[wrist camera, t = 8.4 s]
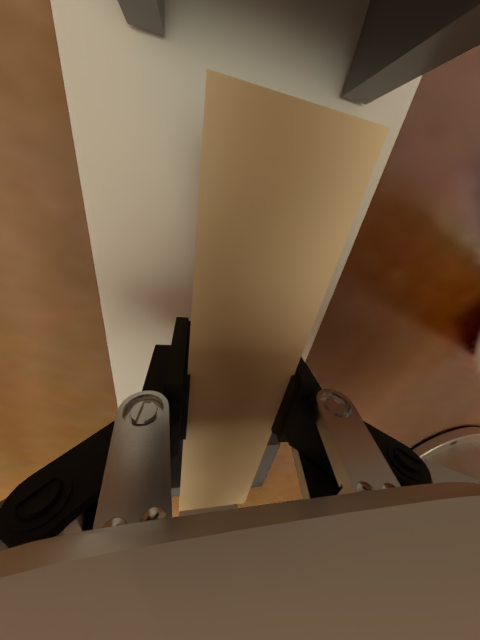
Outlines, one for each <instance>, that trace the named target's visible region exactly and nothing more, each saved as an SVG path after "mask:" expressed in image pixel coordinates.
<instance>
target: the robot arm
mask: <svg viewBox="0 0 480 640" xmlns="http://www.w3.org/2000/svg"><path fill="white" fill-rule="evenodd" d="M190 326H191V321H189V318H188V317H176V322H175V327H174V332H173V338H172V343H171V345H157V344H156V345H155V348H154V351H153V354H152V358H151V361H150V365H149V368H148V372H147V375H146V378H145V382H144V385H143V389H142V391H141V392H137V393H135V394H133V395H130V396H129V397H128V398H126V399H125V400H124V401H123V402H122V403H121V405H120V406H119V408H118V410H117V413H116V418H115V421H113V422H112V423H110V424H109V425H107V426H106V427H104V428H103V429H101V430H100V431H98V432H97V433H95V434H94V435H92V436H91V437H89V438H87V439H86V440H84V441H83V442H81V443H80V444H78V445H77V446H75V447H74V448H72V449H71V450H69V451H68V452H66V453H65V454H63V455H62V456H60V457H59V458H57V459H56V460H54V461H52V462H51V463H49V464H48V465H46V466H45V467H43V468H42V469H40V470H39V471H37V472H36V473H34V474H33V475H31V476H30V477H28V478H27V479H26V480H25V481H23V482H22V483H21V484H19V485H18V486H17V487H16V488H15V489H14V490H13V492H12V493H11V494H10V495H9V496H8V497H7V498H6V499H4V500H2V501H0V640H480V428H479V427H465V428H460V429H456V430H452V431H449V432H446V433H443V434H441V435H438V436H436V437H434V438H432V439H430V440H428V441H426V442H424V443H422V444H421V445H419V446H418V447H416V448H414V449H413V450H411V449H410V448H408V447H407V446H406V445H404V444H402V443H400V442H399V441H397V440H395V439H393V438H392V437H390V436H388V435H387V434H385V433H383V432H381V431H380V430H378V429H376V428H375V427H373V426H371V425H369V424H368V423H366V422H364V421H363V420H362V418H361V417H360V415H359V413H358V412H357V410H356V408H355V406H354V405H353V404H352V402H351V401H350V400H349V399H348V398H347V397H346V396H344V395H343V394H341V393H340V392H337V391H335V390H331V389H321V387H320V386H319V384H318V382H317V381H316V379H315V377H314V376H313V374H312V373H311V371H310V369H309V368H308V366H307V364H306V363H305V361H304V360H303V358H302V356H301V358H300V361H299V363H298V366H297V369H296V371H295V374H294V375H291V378H290V380H289V383H288V386H287V388H286V391H285V394H284V396H283V399H282V401H281V404H280V407H279V409H278V412H277V415H276V417H275V420H274V423H273V425H272V428H271V431H272V433H273V434H276V436H277V439H278V442H288V443H289V445H290V446H292V453H293V457H294V462H295V466H296V470H297V475H298V479H299V483H300V488H301V492H302V496H303V500H296V501H288V502H281V503H274V504H266V505H259V506H251V507H244V508H237V509H230V510H223V511H215V512H208V513H201V514H194V515H187V516H180V517H173V518H172V502H171V464H170V461H171V460H172V459H173V458H174V457H175V456H176V455H177V454H178V453H179V449H180V440H186V432H187V419H188V405H189V392H190V375H191V374H187V373H188V357H189V341H190Z"/></svg>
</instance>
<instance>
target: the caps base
mask: <svg viewBox="0 0 480 640" xmlns="http://www.w3.org/2000/svg"><path fill="white" fill-rule="evenodd" d="M50 1H51V7H52V13H53V19H54V25H55V31H56V37H57V43H58V49H59V55H60V61H61V67H62V73H63V79H64V85H65V91H66V97H67V103H68V109H69V115H70V121H71V127H72V133H73V139H74V145H75V151H76V157H77V163H78V169H79V175H80V181H81V187H82V193H83V199H84V206H85V212H86V218H87V224H88V230H89V236H90V242H91V248H92V254H93V260H94V266H95V272H96V278H97V284H98V290H99V296H100V302H101V308H102V314H103V320H104V326H105V332H106V338H107V344H108V350H109V356H110V362H111V368H112V374H113V380H114V386H115V392H116V398H117V404H118V408H119V406H120V405H121V403H122V402H123V401H124V400H125V399H126V398H128V397H129V396H130V395H133V394H135V393H137V392H141V391H142V389H143V385H144V382H145V378H146V375H147V372H148V368H149V365H150V361H151V358H152V354H153V351H154V348H155V345H156V344H157V345H171V343H172V338H173V332H174V327H175V322H176V317H188V318H189V321H191V310H192V294H193V278H194V262H195V247H196V231H197V215H198V199H199V183H200V168H201V152H202V136H203V120H204V105H205V89H206V73H207V69H209V70H212V71H215V72H218V73H222V74H225V75H228V76H231V77H234V78H237V79H240V80H243V81H247V82H250V83H253V84H256V85H259V86H262V87H265V88H268V89H272V90H275V91H278V92H281V93H284V94H287V95H290V96H293V97H296V98H300V99H303V100H306V101H309V102H312V103H315V104H318V105H321V106H325V107H328V108H331V109H334V110H337V111H340V112H343V113H346V114H349V115H353V116H356V117H359V118H362V119H365V120H368V121H371V122H374V123H378V124H381V125H384V126H387V127H390V128H389V131H388V134H387V136H386V139H385V141H384V144H383V147H382V149H381V152H380V154H379V157H378V159H377V162H376V165H375V167H374V170H373V172H372V175H371V178H370V180H369V183H368V185H367V188H366V190H365V193H364V196H363V198H362V201H361V203H360V206H359V209H358V211H357V214H356V216H355V219H354V221H353V224H352V227H351V229H350V232H349V234H348V237H347V240H346V242H345V245H344V247H343V250H342V252H341V255H340V258H339V260H338V263H337V265H336V268H335V271H334V273H333V276H332V278H331V281H330V283H329V286H328V289H327V291H326V294H325V296H324V299H323V301H322V304H321V307H320V309H319V312H318V314H317V317H316V320H315V322H314V325H313V327H312V330H311V332H310V335H309V338H308V340H307V343H306V345H305V348H304V351H303V353H302V358H303V360H304V361H306V359H307V356H308V354H309V351H310V349H311V346H312V344H313V342H314V339H315V337H316V334H317V332H318V329H319V327H320V324H321V322H322V320H323V317H324V315H325V312H326V310H327V307H328V305H329V302H330V300H331V298H332V295H333V293H334V290H335V288H336V285H337V283H338V280H339V278H340V275H341V273H342V271H343V268H344V266H345V263H346V261H347V258H348V256H349V253H350V251H351V249H352V246H353V244H354V241H355V239H356V236H357V234H358V231H359V229H360V227H361V224H362V222H363V219H364V217H365V214H366V212H367V209H368V207H369V204H370V202H371V200H372V197H373V195H374V192H375V190H376V187H377V185H378V182H379V180H380V178H381V175H382V173H383V170H384V168H385V165H386V163H387V160H388V158H389V156H390V153H391V151H392V148H393V146H394V143H395V141H396V138H397V136H398V133H399V131H400V129H401V126H402V124H403V121H404V119H405V116H406V114H407V111H408V109H409V107H410V104H411V102H412V99H413V97H414V94H415V92H416V89H417V87H418V85H419V82H420V80H421V77H422V75H421V76H419V77H417V78H415V79H413V80H412V81H410V82H408V83H406V84H404V85H402V86H400V87H398V88H396V89H395V90H393V91H391V92H389V93H387V94H385V95H383V96H381V97H379V98H378V99H376V100H374V101H372V102H370V103H368V104H363V103H360V102H357V101H354V100H351V99H348V98H345V97H342V96H343V92H344V89H345V85H346V82H347V78H348V75H349V71H350V68H351V65H352V61H353V58H354V54H355V51H356V47H357V44H358V40H359V37H360V34H361V30H362V27H363V23H364V20H365V16H366V13H367V9H368V6H369V3H370V0H164V5H165V36H162V35H159V34H156V33H153V32H150V31H147V30H144V29H141V28H139V27H136V26H133V25H130V24H127V22H126V19H125V17H124V15H123V12H122V10H121V8H120V5H119V3H118V1H117V0H50ZM279 446H280V442H278V439H277V436H276V434H273V433H271V436H270V438H269V441H268V444H267V446H266V449H265V451H264V454H263V456H262V459H261V462H260V464H259V467H258V469H257V472H256V475H255V477H254V480H253V482H252V485H251V487H259V486H262V485H263V482H264V480H265V478H266V476H267V473H268V471H269V469H270V467H271V464H272V462H273V460H274V457H275V455H276V453H277V451H278V448H279ZM182 452H183V440H180V449H179V453H178V454H177V455H176V456H175V457H174V458H173V459H172V460H171V461H170V464H171V496H180V483H181V468H182Z"/></svg>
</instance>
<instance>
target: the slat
mask: <svg viewBox="0 0 480 640" xmlns="http://www.w3.org/2000/svg"><path fill="white" fill-rule="evenodd" d="M389 128H390V127H387V126H384V125H381V124H378V123H374V122H371V121H368V120H365V119H362V118H359V117H356V116H353V115H349V114H346V113H343V112H340V111H337V110H334V109H331V108H328V107H325V106H321V105H318V104H315V103H312V102H309V101H306V100H303V99H300V98H296V97H293V96H290V95H287V94H284V93H281V92H278V91H275V90H272V89H268V88H265V87H262V86H259V85H256V84H253V83H250V82H247V81H243V80H240V79H237V78H234V77H231V76H228V75H225V74H222V73H218V72H215V71H212V70H209V69H207V73H206V89H205V105H204V120H203V136H202V152H201V168H200V183H199V199H198V215H197V231H196V247H195V262H194V278H193V294H192V310H191V326H190V341H189V357H188V373H187V374H191V375H190V392H189V405H188V419H187V432H186V440H183V452H182V468H181V483H180V499H179V511H186V510H194V509H201V508H209V507H217V506H225V505H232V504H240V503H245V500H246V498H247V495H248V493H249V490H250V487H251V485H252V482H253V480H254V477H255V475H256V472H257V469H258V467H259V464H260V462H261V459H262V456H263V454H264V451H265V449H266V446H267V444H268V441H269V438H270V436H271V433H272V431H271V428H272V425H273V423H274V420H275V417H276V415H277V412H278V409H279V407H280V404H281V401H282V399H283V396H284V394H285V391H286V388H287V386H288V383H289V380H290V378H291V375H294V374H295V371H296V369H297V366H298V363H299V361H300V358H301V356H302V353H303V351H304V348H305V345H306V343H307V340H308V338H309V335H310V332H311V330H312V327H313V325H314V322H315V320H316V317H317V314H318V312H319V309H320V307H321V304H322V301H323V299H324V296H325V294H326V291H327V289H328V286H329V283H330V281H331V278H332V276H333V273H334V271H335V268H336V265H337V263H338V260H339V258H340V255H341V252H342V250H343V247H344V245H345V242H346V240H347V237H348V234H349V232H350V229H351V227H352V224H353V221H354V219H355V216H356V214H357V211H358V209H359V206H360V203H361V201H362V198H363V196H364V193H365V190H366V188H367V185H368V183H369V180H370V178H371V175H372V172H373V170H374V167H375V165H376V162H377V159H378V157H379V154H380V152H381V149H382V147H383V144H384V141H385V139H386V136H387V134H388V131H389Z"/></svg>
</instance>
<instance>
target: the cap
mask: <svg viewBox="0 0 480 640" xmlns="http://www.w3.org/2000/svg"><path fill="white" fill-rule="evenodd" d="M117 1H118V3H119V5H120V8H121V10H122V12H123V15H124V17H125V19H126V22H127V24H130V25H133V26H136V27H139V28H141V29H144V30H147V31H150V32H153V33H156V34H159V35H162V36H165V5H164V0H117ZM478 45H480V0H370V3H369V6H368V9H367V13H366V16H365V20H364V23H363V27H362V30H361V34H360V37H359V40H358V44H357V47H356V51H355V54H354V58H353V61H352V65H351V68H350V71H349V75H348V78H347V82H346V85H345V89H344V92H343V96H342V97H345V98H348V99H351V100H354V101H357V102H360V103H363V104H368V103H370V102H372V101H374V100H376V99H378V98H379V97H381V96H383V95H385V94H387V93H389V92H391V91H393V90H395V89H396V88H398V87H400V86H402V85H404V84H406V83H408V82H410V81H412V80H413V79H415V78H417V77H419V76H421V75H423V74H425V73H427V72H429V71H430V70H432V69H434V68H436V67H438V66H440V65H442V64H444V63H446V62H447V61H449V60H451V59H453V58H455V57H457V56H459V55H461V54H463V53H464V52H466V51H468V50H470V49H472V48H474V47H476V46H478Z"/></svg>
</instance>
